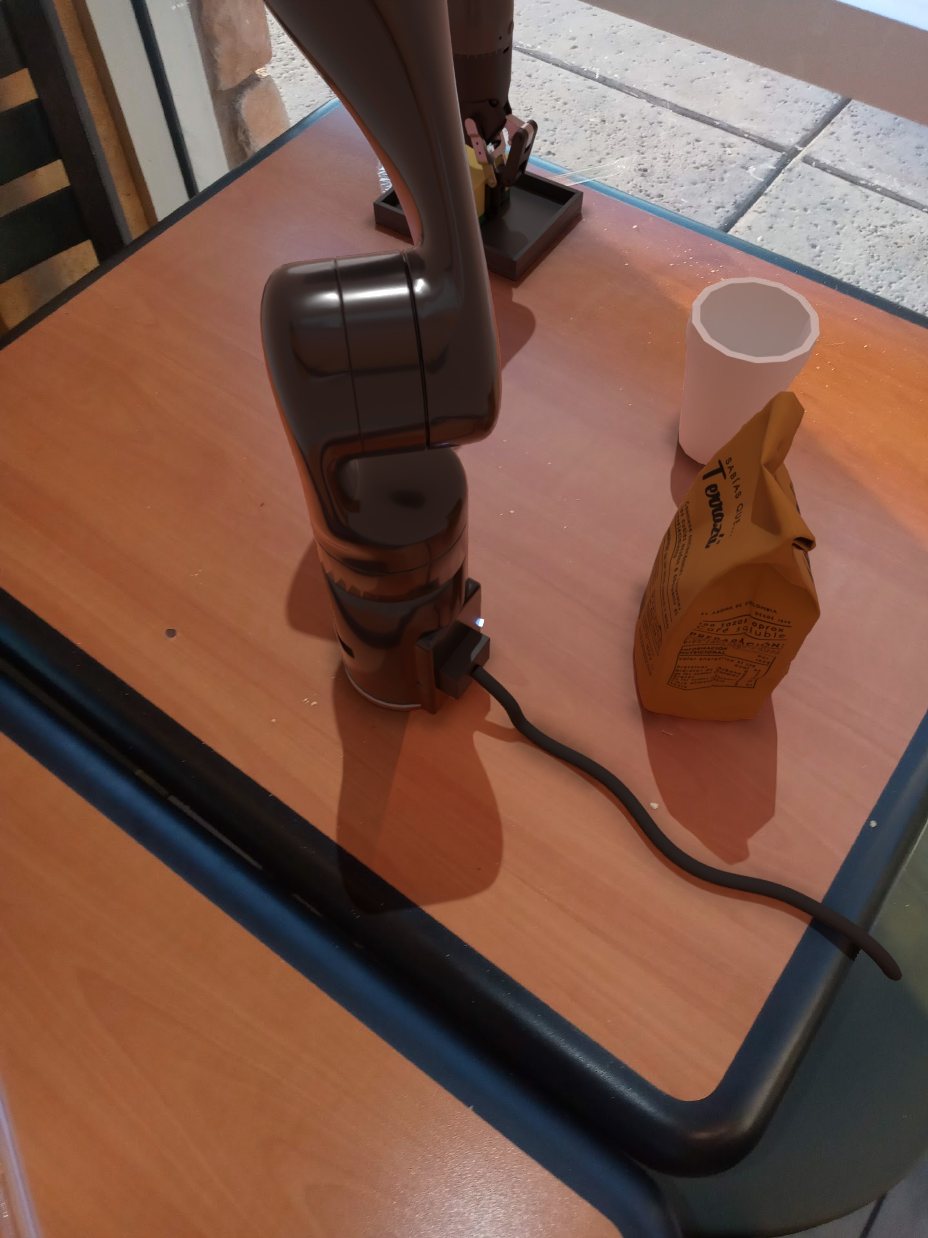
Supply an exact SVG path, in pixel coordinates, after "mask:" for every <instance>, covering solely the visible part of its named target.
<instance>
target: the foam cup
mask: <svg viewBox="0 0 928 1238" xmlns="http://www.w3.org/2000/svg"><path fill="white" fill-rule="evenodd" d="M820 335H821V332H820V319H819V313H817V312H816V310H815V309H814V307H813V306H812V305H811V304H810V302H809V301H808V299H807V298H806V297H805V296H804V295H802V294H800V293H799V292H797V291H795V290H794V289H792V288H791V287H788V286H787V285H786V284H783V283H782V282H777V281H773V280H769V279H764V278H760V277H757V276H748V277H731V278H725V279H723V280H720V281H718V282H716V283H713V284H711V285H709V286H706V287H704V288H703V289H702V290H701V292H700V293H699V294H698V296H697V297H696V298H695V300H694V301H693V302H692V304H691V308H690V312H689V314H688V319H687V323H686V327H685V348H686V351H685V362H684V363H685V365H684V375H683V384H682V395H681V403H680V415H679V429H678V443H679V445H680V447H681V448H682V450H683V452H684V454H685V455H687V457H690V459H692V460H694V461H695V462H697V463H698V464H700V465H704V466H706V464H707V463H708V462H709V461H710V460H711V458H712V457H713V456H714V454H715V453H716V452H717V451H718V450H719V449H720V448H722V447H723V446H724V445H725V444H726V443H727V442H729V441H730V440H731V439H732V438H733V437H734V436H735V435H736V434H737V432H738V431H739V430H740V429H741V428H742V426H743V425H744V424H746V423H747V422H748V421H749V420H750V419H751V418H752V417H753V416H754V415H755V414H756V413H758V412H760V411H761V410H762V409H763V408H764V406H765V405H766V404H767V403H768V402H769V401H770V400H771V399H772V398H773V397H774V396H775V395H776V394H778V393H779V392H780V391H781V392H788V390H789V388H790V387H791V385H792V384H793V382H794V381H795V379H796V378H797V376H799V375H800V373H801V372H802V371H803V369H804V368H805V366H806V365H807V363H808V362H809V360H810V359H811V356H812V354H813V351H814V349H815V346H816V344H817V342H818V339H819V337H820Z"/></svg>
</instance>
